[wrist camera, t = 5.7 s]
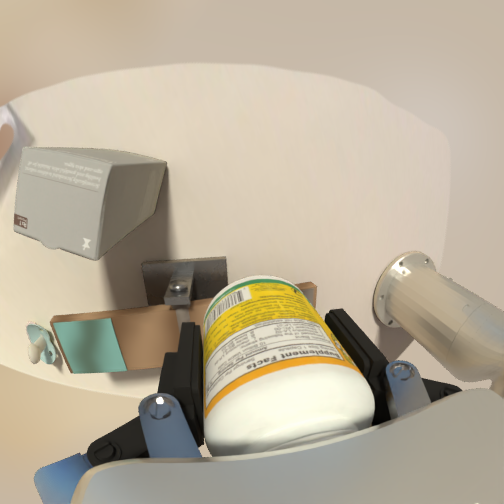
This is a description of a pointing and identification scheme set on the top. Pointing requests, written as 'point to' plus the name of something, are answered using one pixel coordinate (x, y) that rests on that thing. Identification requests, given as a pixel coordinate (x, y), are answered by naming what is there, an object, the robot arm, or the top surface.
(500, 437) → the robot arm
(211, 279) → the beam stand
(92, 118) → the top surface
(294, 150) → the top surface
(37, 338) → the pacifier
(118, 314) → the beam
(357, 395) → the supplement bottle
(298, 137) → the top surface
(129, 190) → the skincare box
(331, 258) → the top surface
